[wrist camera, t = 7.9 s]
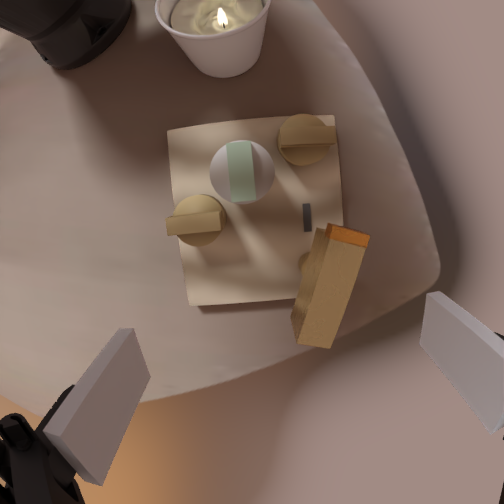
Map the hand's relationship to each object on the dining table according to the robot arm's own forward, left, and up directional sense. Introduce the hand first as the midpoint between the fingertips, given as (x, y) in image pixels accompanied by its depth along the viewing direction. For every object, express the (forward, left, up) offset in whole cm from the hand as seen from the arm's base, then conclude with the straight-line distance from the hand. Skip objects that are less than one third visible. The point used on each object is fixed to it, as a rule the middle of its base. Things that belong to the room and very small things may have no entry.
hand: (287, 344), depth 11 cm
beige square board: (-4, -1, -22) cm, 22 cm away
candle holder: (-24, -3, -22) cm, 32 cm away
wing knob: (+2, +4, -20) cm, 20 cm away
